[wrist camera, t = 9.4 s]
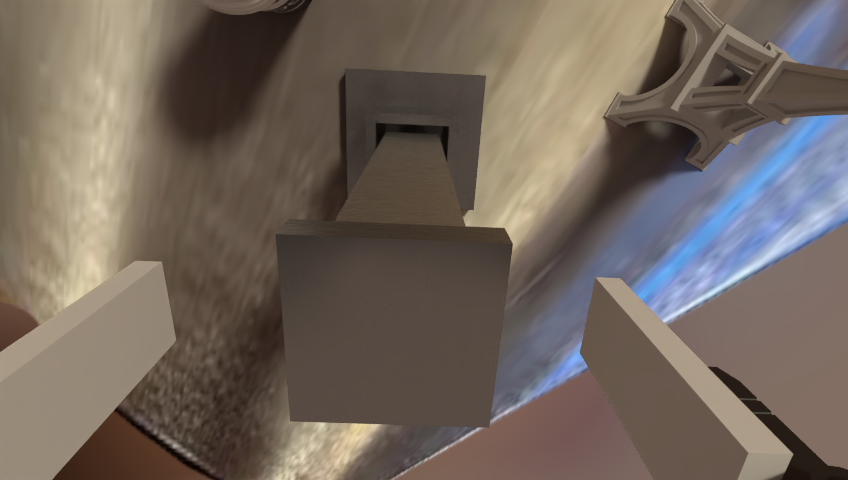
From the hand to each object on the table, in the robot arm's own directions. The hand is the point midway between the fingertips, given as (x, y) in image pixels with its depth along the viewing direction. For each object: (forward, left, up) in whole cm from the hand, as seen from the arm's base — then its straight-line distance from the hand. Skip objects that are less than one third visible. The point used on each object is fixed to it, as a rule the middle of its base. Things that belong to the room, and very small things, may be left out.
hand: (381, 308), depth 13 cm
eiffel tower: (+29, +7, -37) cm, 47 cm away
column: (0, 0, -26) cm, 26 cm away
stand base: (0, 0, -36) cm, 36 cm away
